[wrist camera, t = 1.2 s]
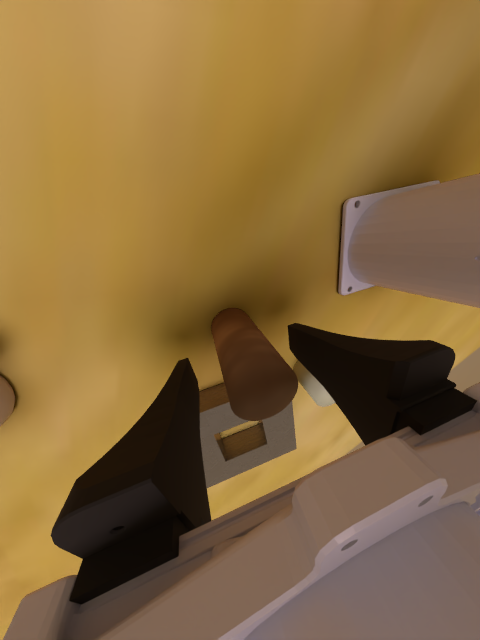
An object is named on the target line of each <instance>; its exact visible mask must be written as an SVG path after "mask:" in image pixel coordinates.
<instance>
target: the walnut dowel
mask: <svg viewBox="0 0 480 640" xmlns="http://www.w3.org/2000/svg"><path fill="white" fill-rule="evenodd" d="M211 331H212V335H213V339H214V343H215V347H216V351H217V355H218V359H219V363H220V367H221V371H222V375H223V379H224V383H225V387H226V391H227V395H228V399H229V403H230V407H231V409H232V411H233V413H234V414H235V415H236V416H238V417H239V418H241V419H244V420H248V421H258V420H263V419H267V418H270V417H272V416H274V415H276V414H278V413H279V412H281V411H282V410H283V409H285V408H286V407H287V406H288V405H289V404H290V402H291V401H292V400H293V398H294V396H295V394H296V392H297V388H298V379H297V376H296V374H295V372H294V371H293V370H292V369H291V368H290V366H289V365H288V364H287V363H286V362H285V360H284V359H283V358H282V357H281V355H280V354H279V353H278V352H277V351H276V349H275V348H274V347H273V346H272V345H271V343H270V342H269V341H268V340H267V338H266V337H265V336H264V335H263V334H262V332H261V331H260V330H259V329H258V327H257V326H256V325H255V324H254V323H253V321H252V320H251V319H250V318H249V317H248V315H247V314H246V313H245V312H244V311H242V310H240V309H237V308H228V309H225V310H223V311H221V312H219V313H218V314H217V315H216V316H215V318H214V319H213V321H212V325H211Z"/></svg>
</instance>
